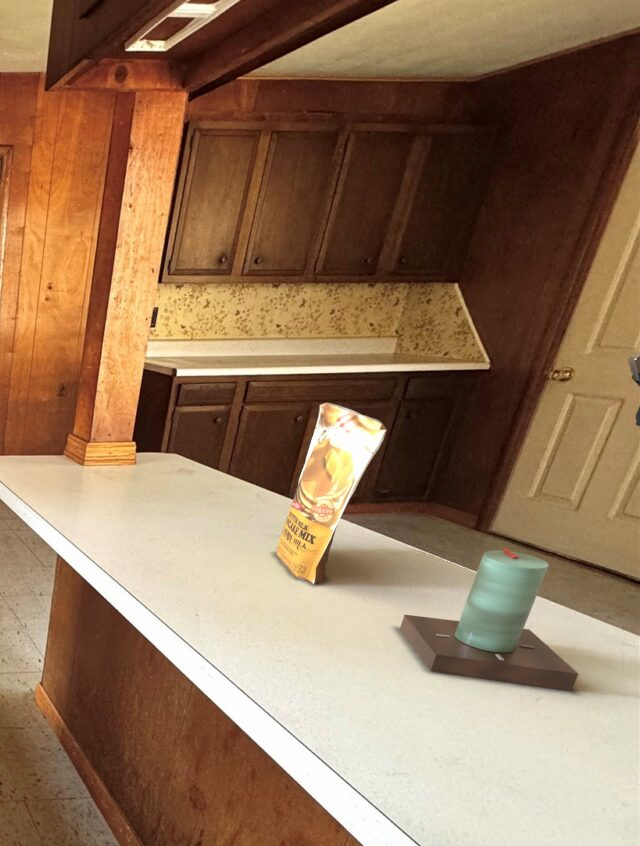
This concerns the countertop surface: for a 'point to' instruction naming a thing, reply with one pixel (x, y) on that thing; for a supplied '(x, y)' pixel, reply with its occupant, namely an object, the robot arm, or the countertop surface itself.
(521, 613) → the mint green cylinder
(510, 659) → the dark brown slab
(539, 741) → the countertop surface
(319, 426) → the pancake mix bag
